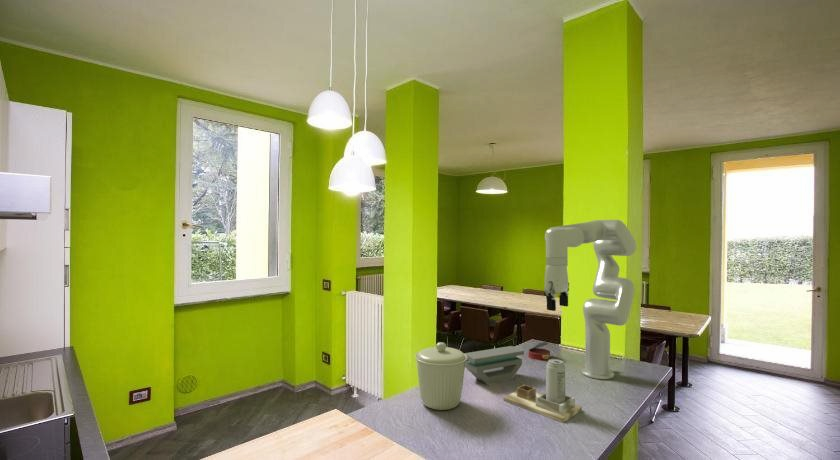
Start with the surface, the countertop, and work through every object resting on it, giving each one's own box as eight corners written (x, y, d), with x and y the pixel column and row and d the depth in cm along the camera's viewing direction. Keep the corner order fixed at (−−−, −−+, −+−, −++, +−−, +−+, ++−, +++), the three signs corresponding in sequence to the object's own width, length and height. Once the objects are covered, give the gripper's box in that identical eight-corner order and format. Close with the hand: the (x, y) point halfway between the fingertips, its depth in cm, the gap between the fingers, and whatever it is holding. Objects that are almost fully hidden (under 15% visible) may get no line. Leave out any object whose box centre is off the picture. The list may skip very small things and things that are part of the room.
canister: (439, 389, 149) (439, 333, 150) (477, 404, 136) (478, 343, 137) (403, 403, 137) (404, 342, 137) (442, 421, 124) (442, 353, 124)
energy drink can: (553, 400, 137) (553, 357, 137) (568, 407, 132) (568, 361, 132) (542, 405, 133) (542, 360, 133) (558, 411, 128) (558, 365, 129)
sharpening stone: (474, 387, 151) (474, 359, 151) (462, 381, 158) (462, 353, 158) (524, 377, 163) (524, 350, 163) (511, 371, 170) (511, 345, 170)
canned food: (534, 369, 186) (524, 350, 186) (531, 360, 196) (522, 342, 196) (556, 360, 184) (546, 341, 184) (553, 351, 194) (543, 333, 194)
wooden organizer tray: (524, 390, 149) (524, 379, 149) (581, 410, 132) (581, 397, 132) (503, 400, 140) (503, 388, 140) (562, 422, 124) (562, 409, 124)
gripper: (558, 259, 155) (559, 303, 155) (535, 263, 143) (536, 310, 143) (577, 260, 150) (577, 305, 150) (555, 264, 138) (556, 313, 138)
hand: (557, 308), depth 147 cm, fingers open, 9 cm apart
